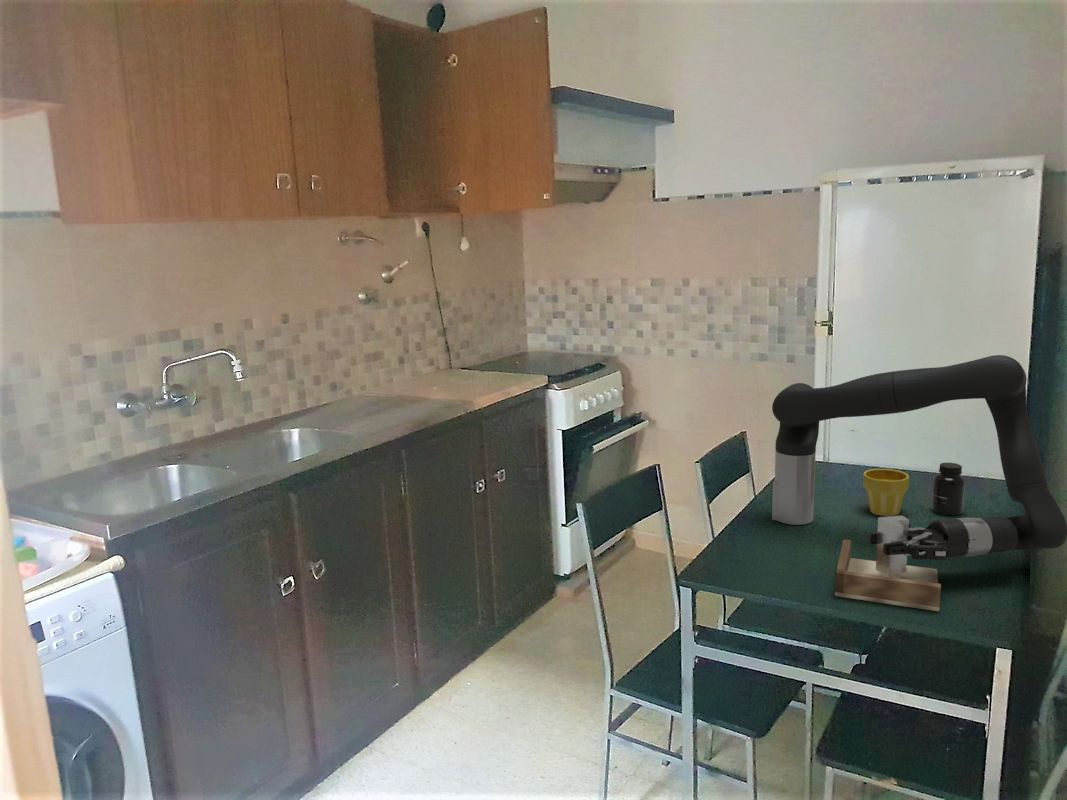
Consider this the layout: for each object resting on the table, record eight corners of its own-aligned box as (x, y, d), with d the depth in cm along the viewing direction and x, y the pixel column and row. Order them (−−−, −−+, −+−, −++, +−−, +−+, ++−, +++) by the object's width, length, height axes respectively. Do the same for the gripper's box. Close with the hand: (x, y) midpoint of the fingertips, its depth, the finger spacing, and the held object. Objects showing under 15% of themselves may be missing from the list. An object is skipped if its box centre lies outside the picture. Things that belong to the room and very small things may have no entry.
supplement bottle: (932, 515, 194) (935, 467, 191) (930, 506, 200) (933, 460, 197) (964, 518, 191) (968, 470, 189) (961, 508, 197) (964, 462, 195)
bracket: (875, 569, 160) (878, 517, 158) (899, 567, 160) (902, 515, 158) (888, 579, 155) (891, 526, 153) (913, 577, 156) (916, 524, 153)
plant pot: (852, 509, 200) (854, 471, 198) (883, 502, 204) (886, 465, 202) (884, 522, 190) (886, 483, 188) (916, 515, 194) (919, 476, 192)
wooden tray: (834, 595, 154) (836, 572, 153) (842, 560, 170) (843, 539, 169) (939, 611, 146) (940, 587, 145) (936, 572, 162) (938, 550, 161)
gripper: (939, 507, 164) (859, 513, 162) (984, 532, 150) (897, 539, 148) (937, 541, 165) (858, 547, 164) (981, 570, 151) (895, 577, 150)
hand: (877, 544), depth 156 cm, fingers closed on bracket, 5 cm apart
